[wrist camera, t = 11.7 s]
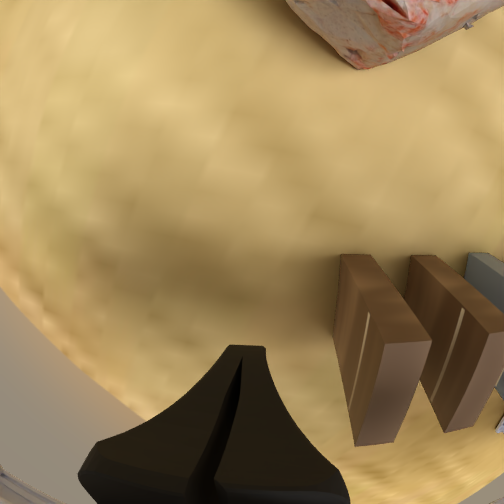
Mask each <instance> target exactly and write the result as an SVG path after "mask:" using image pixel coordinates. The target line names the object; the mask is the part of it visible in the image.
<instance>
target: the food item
mask: <svg viewBox="0 0 504 504" xmlns="http://www.w3.org/2000/svg"><path fill="white" fill-rule="evenodd" d="M285 1H286V2H287V3H288V5H289V6H290V8H291V9H292V10H293V11H294V12H295V13H296V14H297V15H298V16H299V18H301V19H302V20H303V21H304V23H305V24H306V25H307V26H308V27H309V28H310V29H312V30H313V31H315V32H316V33H317V34H319V35H320V36H321V37H322V38H323V39H325V40H326V41H327V42H328V43H329V44H330V45H331V46H332V47H333V48H334V49H335V50H336V51H337V53H338V54H339V55H340V56H341V57H343V58H344V59H345V60H346V61H348V62H349V63H350V64H351V65H353V66H354V67H355V68H356V69H361V68H363V69H370V68H373V67H376V66H380V65H383V64H387V63H389V62H392V61H394V60H397V59H399V58H402V57H404V56H406V55H409V54H411V53H413V52H416V51H418V50H420V49H422V48H424V47H426V46H428V45H430V44H432V43H434V42H436V41H438V40H440V39H441V38H443V37H445V36H447V35H449V34H451V33H453V32H455V31H457V30H459V29H461V28H463V27H464V28H465V29H466V30H467V29H469V28H471V27H473V25H471V23H473V22H475V21H476V20H478V19H479V18H481V17H483V16H484V15H486V14H488V13H489V12H492V11H494V10H496V9H498V8H500V7H502V6H504V0H285Z"/></svg>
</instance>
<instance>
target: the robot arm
mask: <svg viewBox="0 0 504 504" xmlns="http://www.w3.org/2000/svg"><path fill="white" fill-rule="evenodd" d="M495 431H496V433H500V432H503V434H504V417H503V418H502V420H501V421H500V423H499V425H498V426H497V428H496V430H495ZM78 479H79V481H80V483H81V484H82V486H83V487H84V488H85V490H86V491H87V492H88V493H89V494H90V496H91V497H92V498H93V499H94V500H95V501H96V502H97V504H350V497H349V494H348V490H347V487H346V485H345V482H344V480H343V478H342V475H341V473H340V471H339V470H338V469H337V468H336V467H335V466H334V465H333V464H331V463H330V462H329V461H328V460H327V459H326V458H325V457H324V456H323V455H322V454H321V453H320V452H319V451H318V450H317V449H316V448H315V447H314V446H313V445H312V444H311V442H310V441H309V440H308V439H307V438H306V436H305V435H304V434H303V433H302V431H301V430H300V429H299V428H298V426H297V425H296V423H295V422H294V420H293V419H292V417H291V416H290V414H289V413H288V411H287V409H286V407H285V406H284V404H283V402H282V400H281V398H280V396H279V394H278V392H277V390H276V387H275V385H274V382H273V380H272V377H271V374H270V371H269V368H268V364H267V360H266V348H264V347H263V346H249V345H229V346H228V347H227V348H226V349H225V351H224V352H223V353H222V355H221V356H220V357H219V359H218V360H217V361H216V362H215V364H214V365H213V366H212V367H211V368H210V370H209V371H208V372H207V373H206V374H205V375H204V376H203V377H202V378H201V380H199V381H198V382H197V383H196V384H195V385H194V386H193V387H192V388H191V389H190V390H189V391H188V392H187V393H186V394H185V395H184V396H183V397H181V398H180V399H179V400H178V401H176V402H175V403H174V404H173V405H171V406H170V407H168V408H167V409H166V410H164V411H163V412H161V413H160V414H158V415H157V416H155V417H153V418H152V419H150V420H148V421H147V422H145V423H143V424H141V425H139V426H137V427H135V428H133V429H130V430H128V431H126V432H124V433H121V434H119V435H116V436H113V437H110V438H107V439H105V440H102V441H98V442H97V443H96V444H95V446H94V447H93V448H92V449H91V451H90V453H89V454H88V456H87V458H86V460H85V461H84V463H83V465H82V467H81V469H80V470H79V472H78ZM0 504H65V503H63V502H61V501H59V500H57V499H55V498H53V497H51V496H49V495H47V494H45V493H43V492H41V491H39V490H37V489H35V488H34V487H32V486H30V485H28V484H27V483H25V482H23V481H21V480H20V479H18V478H16V477H15V476H13V475H11V474H10V473H8V472H7V471H5V470H4V469H3V467H2V466H1V465H0ZM489 504H504V497H502V498H500V499H498V500H496V501H493V502H491V503H489Z"/></svg>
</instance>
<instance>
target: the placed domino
mask: <svg viewBox="0 0 504 504" xmlns="http://www.w3.org/2000/svg"><path fill="white" fill-rule="evenodd" d="M464 279H465V280H466V281H467V282H469V283H470V284H471V285H472V286H473V287H474V288H475V289H477V290H478V291H479V292H480V293H481V294H482V295H483V296H485V297H486V298H487V299H488V300H489V301H490V302H491V303H492V304H493V305H494V306H496V307H497V308H498V309H499V310H500V311H501V312H502V313H503V314H504V263H503V262H501V261H500V260H498V259H497V258H495V257H494V256H492V255H490V254H489V253H469V255H468V261H467V266H466V271H465V276H464ZM495 388H496V390H497V391H498V393H499V394H500V396H501V397H502V399H503V400H504V368H503V370H502V372H501V374H500V376H499V378H498V381H497V383H496V385H495Z"/></svg>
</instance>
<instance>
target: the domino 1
mask: <svg viewBox="0 0 504 504" xmlns="http://www.w3.org/2000/svg"><path fill="white" fill-rule="evenodd" d="M333 340H334V345H335V349H336V354H337V358H338V363H339V367H340V372H341V377H342V382H343V386H344V391H345V396H346V401H347V407H348V412H349V417H350V422H351V428H352V433H353V439H354V445H355V447H356V446H367V445H376V444H384V443H392V442H394V440H395V438H396V435H397V433H398V431H399V429H400V427H401V424H402V422H403V420H404V417H405V415H406V413H407V410H408V408H409V405H410V403H411V400H412V398H413V395H414V393H415V390H416V387H417V385H418V382H419V379H420V376H421V374H422V371H423V368H424V365H425V362H426V359H427V356H428V353H429V349H430V346H431V343H432V339H431V338H430V336H429V335H428V333H427V332H426V330H425V329H424V327H423V326H422V324H421V323H420V321H419V320H418V319H417V317H416V316H415V314H414V313H413V311H412V310H411V309H410V307H409V306H408V304H407V303H406V301H405V300H404V299H403V297H402V296H401V295H400V293H399V292H398V290H397V289H396V288H395V286H394V285H393V284H392V282H391V281H390V280H389V278H388V277H387V276H386V274H385V273H384V272H383V270H382V269H381V268H380V266H379V265H378V264H377V262H376V261H375V260H374V258H373V257H372V256H371V255H358V254H341V262H340V274H339V285H338V295H337V305H336V314H335V322H334V330H333Z"/></svg>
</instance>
